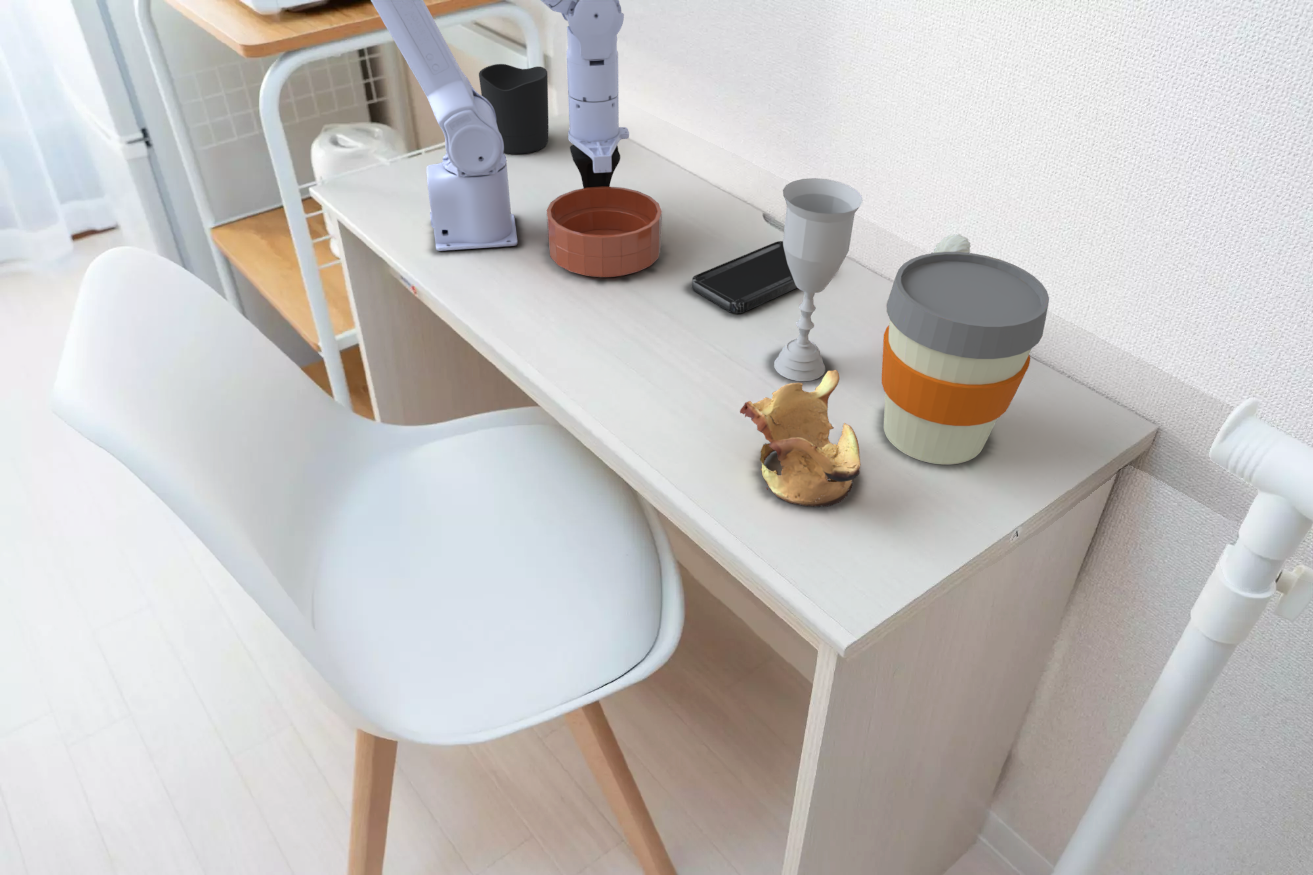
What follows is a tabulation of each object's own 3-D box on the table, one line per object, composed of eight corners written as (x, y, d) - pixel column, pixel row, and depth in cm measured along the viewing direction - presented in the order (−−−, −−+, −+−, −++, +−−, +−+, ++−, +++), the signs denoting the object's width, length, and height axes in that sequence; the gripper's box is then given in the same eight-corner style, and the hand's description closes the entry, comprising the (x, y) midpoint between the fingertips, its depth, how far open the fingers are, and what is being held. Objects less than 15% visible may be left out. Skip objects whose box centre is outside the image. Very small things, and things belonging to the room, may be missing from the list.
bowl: (554, 285, 104) (551, 240, 101) (545, 232, 114) (542, 189, 111) (669, 277, 106) (670, 232, 103) (650, 225, 116) (651, 183, 112)
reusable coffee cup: (1034, 462, 82) (1086, 314, 72) (906, 490, 79) (944, 339, 69) (956, 382, 91) (994, 242, 81) (839, 404, 88) (864, 261, 78)
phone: (687, 278, 103) (782, 239, 111) (687, 287, 104) (781, 247, 112) (737, 307, 99) (832, 264, 106) (736, 316, 99) (831, 272, 107)
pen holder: (528, 126, 141) (523, 58, 135) (564, 145, 135) (560, 75, 129) (473, 141, 136) (466, 70, 130) (508, 161, 131) (502, 89, 124)
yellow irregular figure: (718, 465, 81) (724, 386, 76) (794, 420, 86) (805, 343, 81) (824, 541, 74) (838, 460, 69) (900, 487, 79) (919, 408, 74)
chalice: (752, 353, 94) (768, 184, 83) (812, 340, 96) (836, 173, 85) (785, 393, 89) (807, 219, 78) (848, 379, 91) (878, 207, 80)
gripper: (638, 115, 101) (638, 230, 110) (618, 71, 112) (620, 179, 121) (573, 118, 100) (578, 234, 109) (560, 74, 111) (565, 182, 120)
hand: (596, 205), depth 115 cm, fingers closed
